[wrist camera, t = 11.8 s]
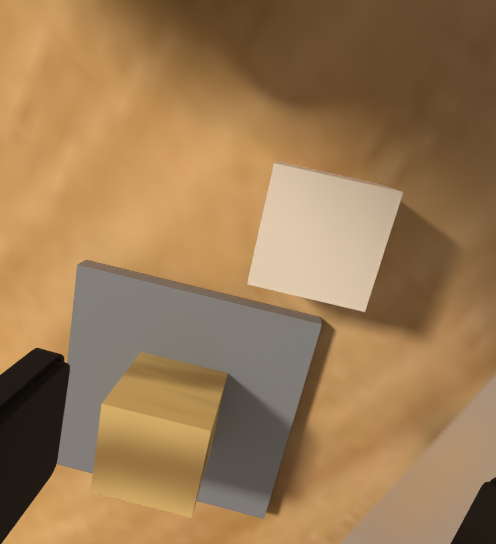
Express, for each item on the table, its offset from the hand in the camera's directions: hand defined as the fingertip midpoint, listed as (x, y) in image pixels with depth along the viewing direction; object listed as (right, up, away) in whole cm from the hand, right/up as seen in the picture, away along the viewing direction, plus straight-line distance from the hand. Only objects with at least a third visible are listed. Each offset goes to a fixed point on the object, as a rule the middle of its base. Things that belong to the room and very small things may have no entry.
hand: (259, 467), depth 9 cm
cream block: (+4, +7, +16) cm, 18 cm away
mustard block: (-5, -5, +19) cm, 21 cm away
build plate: (-5, -4, +21) cm, 22 cm away
